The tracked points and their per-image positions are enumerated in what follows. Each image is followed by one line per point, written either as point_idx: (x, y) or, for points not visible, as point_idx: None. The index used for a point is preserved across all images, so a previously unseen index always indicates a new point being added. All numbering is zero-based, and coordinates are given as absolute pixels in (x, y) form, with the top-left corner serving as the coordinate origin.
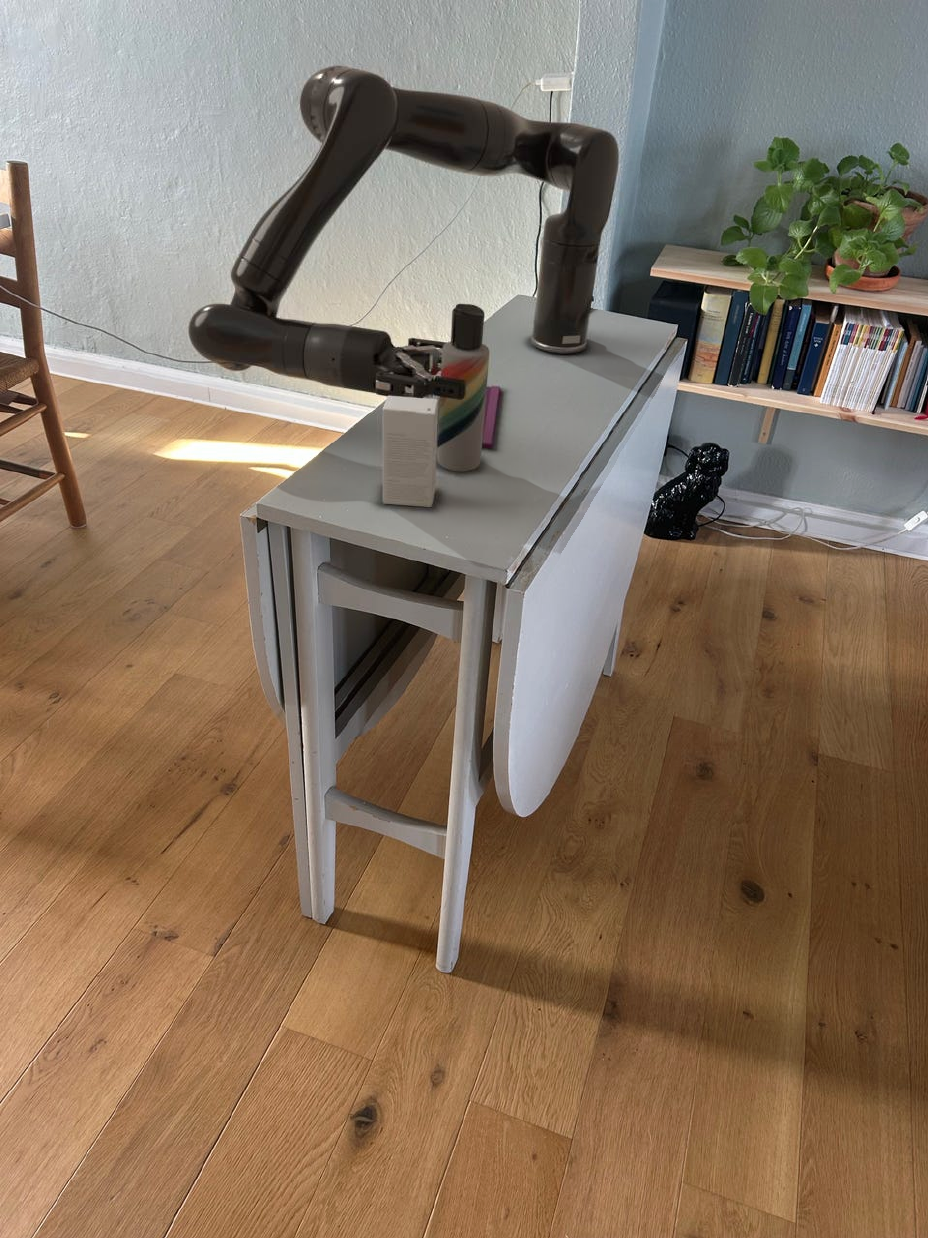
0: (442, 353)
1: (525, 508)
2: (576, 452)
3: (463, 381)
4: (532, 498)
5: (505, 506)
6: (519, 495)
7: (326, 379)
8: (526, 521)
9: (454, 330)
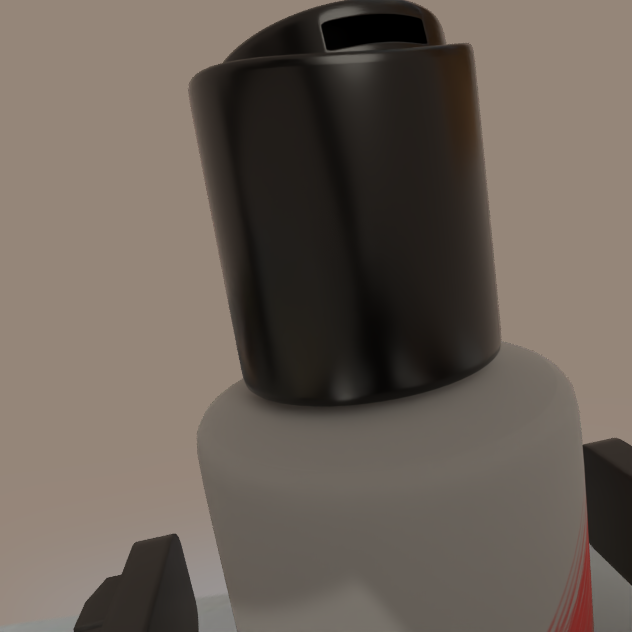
0: (546, 493)
1: None
2: None
3: (595, 443)
4: None
5: (598, 627)
6: None
7: None
8: (604, 560)
9: (483, 216)
